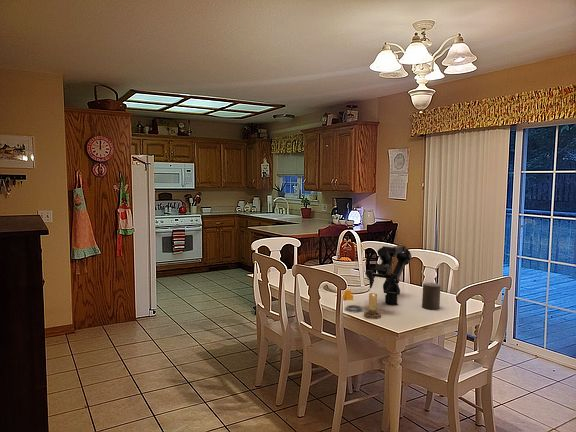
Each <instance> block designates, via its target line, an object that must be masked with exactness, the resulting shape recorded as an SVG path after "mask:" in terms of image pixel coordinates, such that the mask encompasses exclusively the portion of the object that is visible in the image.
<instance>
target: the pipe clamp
mask: <svg viewBox="0 0 576 432" xmlns="http://www.w3.org/2000/svg"><path fill="white" fill-rule="evenodd" d="M343 298H344V299H343ZM343 298H342V299H343V300H345V301H346V300H349V301H353V300H354V295H353V294H352V293H351V289H345V291H344V290H343Z"/></svg>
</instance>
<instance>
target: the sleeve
mask: <svg viewBox="0 0 576 432" xmlns="http://www.w3.org/2000/svg"><path fill="white" fill-rule="evenodd" d="M367 311H368V315H377V312H378V294H377V293H375V292H373V293H371V292H370V293H368V310H367Z"/></svg>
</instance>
